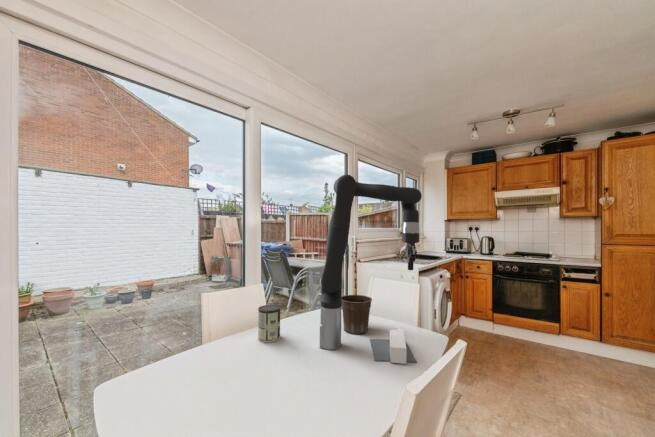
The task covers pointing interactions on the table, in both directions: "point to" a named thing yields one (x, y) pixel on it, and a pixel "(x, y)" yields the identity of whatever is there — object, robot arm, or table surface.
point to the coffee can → (269, 323)
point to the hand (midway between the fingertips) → (410, 270)
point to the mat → (387, 351)
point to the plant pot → (356, 313)
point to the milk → (397, 346)
